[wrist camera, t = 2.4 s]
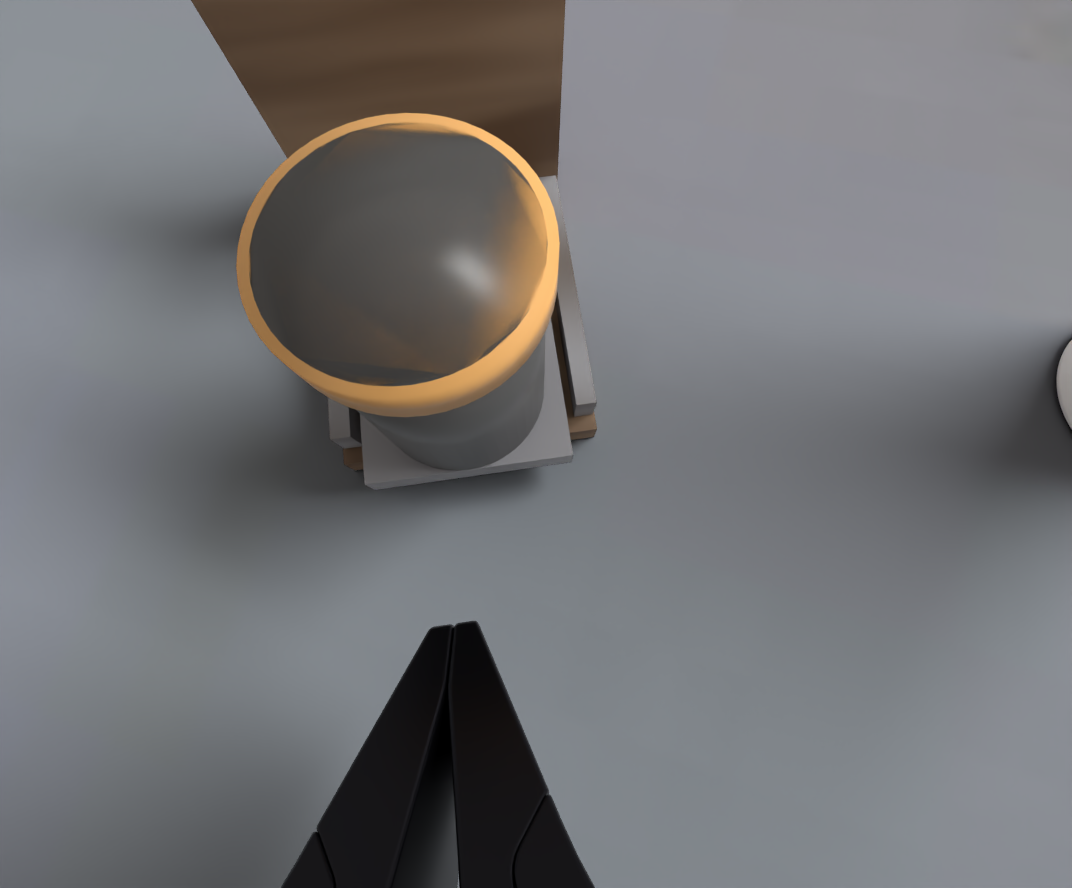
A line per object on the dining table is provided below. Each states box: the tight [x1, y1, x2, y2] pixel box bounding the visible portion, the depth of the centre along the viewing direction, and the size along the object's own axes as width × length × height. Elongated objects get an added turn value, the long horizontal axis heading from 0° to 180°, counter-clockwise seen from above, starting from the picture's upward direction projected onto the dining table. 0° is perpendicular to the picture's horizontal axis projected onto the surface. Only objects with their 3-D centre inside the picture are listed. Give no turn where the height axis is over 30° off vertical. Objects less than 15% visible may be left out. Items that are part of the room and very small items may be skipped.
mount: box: [191, 0, 597, 470], centre depth 14 cm, size 12×8×9 cm
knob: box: [236, 113, 573, 490], centre depth 13 cm, size 5×6×8 cm
